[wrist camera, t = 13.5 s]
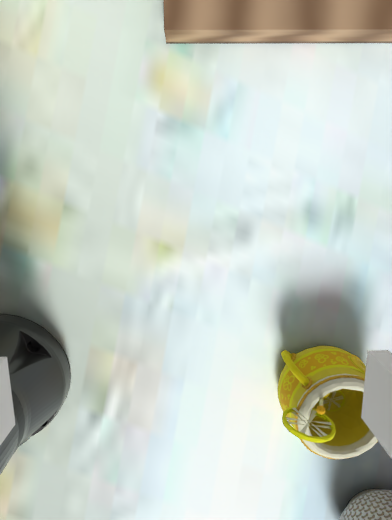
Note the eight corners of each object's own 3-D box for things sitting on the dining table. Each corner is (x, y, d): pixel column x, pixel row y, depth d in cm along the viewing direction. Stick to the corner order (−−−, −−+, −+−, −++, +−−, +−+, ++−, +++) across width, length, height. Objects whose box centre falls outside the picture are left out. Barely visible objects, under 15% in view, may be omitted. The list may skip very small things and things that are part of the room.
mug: (380, 377, 45) (446, 446, 34) (314, 434, 47) (356, 519, 35) (310, 310, 43) (355, 357, 32) (244, 371, 45) (264, 439, 33)
